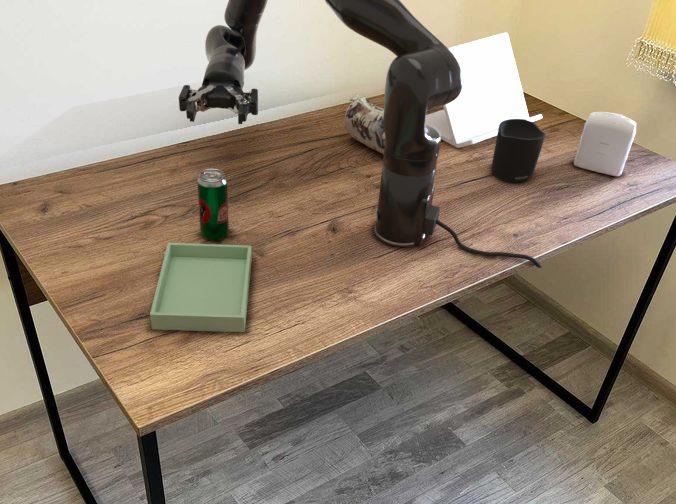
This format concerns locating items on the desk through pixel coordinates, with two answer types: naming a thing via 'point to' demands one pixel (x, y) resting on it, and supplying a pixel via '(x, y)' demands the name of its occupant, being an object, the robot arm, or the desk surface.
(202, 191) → the soda can
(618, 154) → the photo printer
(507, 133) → the pen holder
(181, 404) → the desk surface
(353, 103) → the pencil case
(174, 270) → the tray
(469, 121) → the tablet stand
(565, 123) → the desk surface
